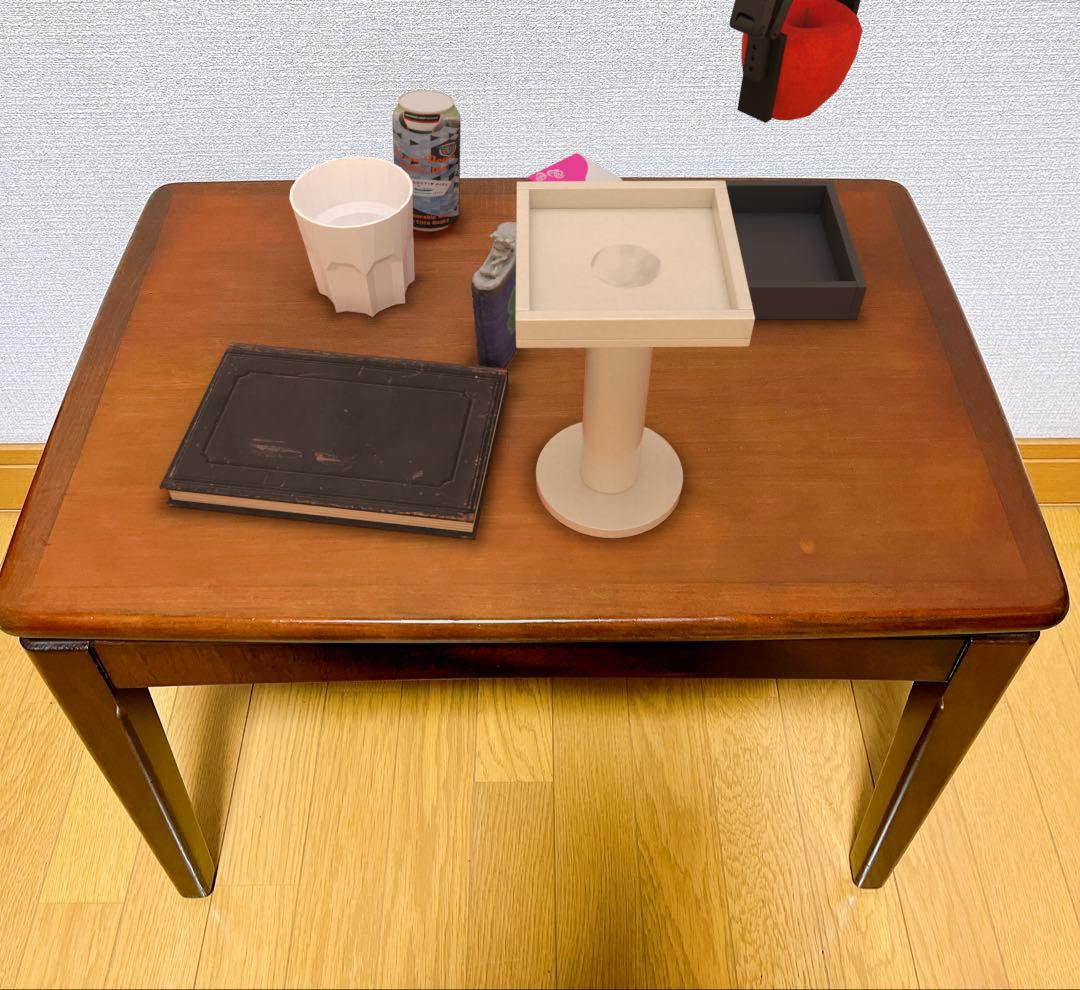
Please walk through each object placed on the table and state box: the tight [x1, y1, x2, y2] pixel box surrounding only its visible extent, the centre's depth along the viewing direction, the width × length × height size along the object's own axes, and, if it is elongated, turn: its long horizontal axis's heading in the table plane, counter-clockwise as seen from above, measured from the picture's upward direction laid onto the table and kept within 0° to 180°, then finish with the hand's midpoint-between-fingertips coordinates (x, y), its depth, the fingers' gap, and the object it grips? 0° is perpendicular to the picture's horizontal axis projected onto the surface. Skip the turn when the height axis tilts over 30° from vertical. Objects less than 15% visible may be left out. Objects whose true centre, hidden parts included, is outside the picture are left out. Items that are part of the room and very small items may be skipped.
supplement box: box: [526, 151, 624, 182], centre depth 86 cm, size 6×6×12 cm
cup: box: [289, 155, 416, 318], centre depth 87 cm, size 10×10×10 cm
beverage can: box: [391, 89, 461, 232], centre depth 93 cm, size 6×7×12 cm
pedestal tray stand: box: [515, 180, 755, 539], centre depth 68 cm, size 13×13×22 cm
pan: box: [724, 179, 868, 321], centre depth 91 cm, size 16×16×4 cm
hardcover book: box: [158, 342, 509, 540], centre depth 78 cm, size 16×23×2 cm
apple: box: [740, 0, 864, 121], centre depth 78 cm, size 9×9×8 cm
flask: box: [470, 221, 520, 369], centre depth 82 cm, size 9×3×11 cm, turn 165°
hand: (791, 91), depth 80 cm, fingers closed on apple, 9 cm apart
